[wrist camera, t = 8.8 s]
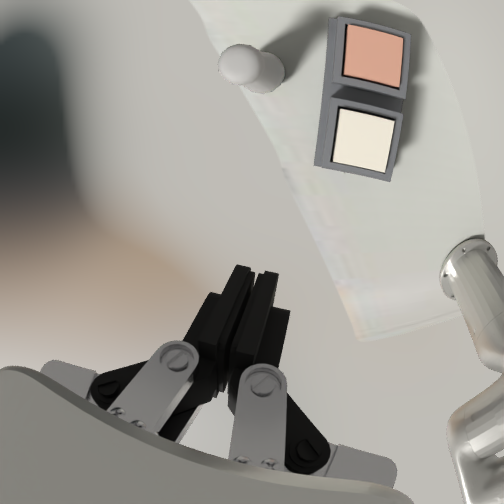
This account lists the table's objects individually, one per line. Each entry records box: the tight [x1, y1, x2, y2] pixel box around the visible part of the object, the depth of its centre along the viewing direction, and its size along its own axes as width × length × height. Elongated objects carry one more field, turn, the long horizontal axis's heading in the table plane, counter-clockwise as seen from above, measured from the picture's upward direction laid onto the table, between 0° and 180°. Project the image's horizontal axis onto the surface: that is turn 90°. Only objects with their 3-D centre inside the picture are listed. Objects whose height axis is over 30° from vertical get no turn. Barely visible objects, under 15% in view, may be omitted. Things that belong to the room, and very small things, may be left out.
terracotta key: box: [342, 25, 403, 88], centre depth 22 cm, size 6×6×4 cm
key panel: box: [314, 16, 411, 182], centre depth 27 cm, size 20×10×7 cm, turn 176°
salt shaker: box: [218, 44, 285, 94], centre depth 26 cm, size 6×6×13 cm
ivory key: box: [332, 108, 394, 173], centre depth 28 cm, size 6×6×4 cm
